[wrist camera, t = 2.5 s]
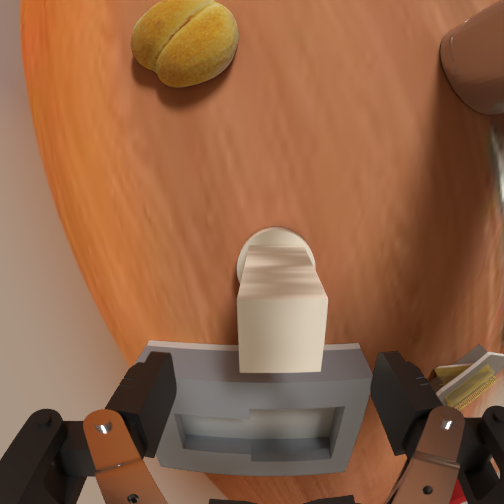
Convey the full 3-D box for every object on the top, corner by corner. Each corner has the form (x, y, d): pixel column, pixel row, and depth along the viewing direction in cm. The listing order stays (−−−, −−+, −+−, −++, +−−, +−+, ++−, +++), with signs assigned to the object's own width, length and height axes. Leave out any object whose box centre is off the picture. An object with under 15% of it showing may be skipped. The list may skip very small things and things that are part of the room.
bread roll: (192, 106, 23) (178, 96, 19) (125, 51, 21) (105, 37, 17) (263, 39, 21) (262, 19, 17) (190, -10, 19) (179, -32, 15)
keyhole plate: (358, 342, 27) (374, 377, 22) (337, 437, 31) (344, 471, 25) (149, 340, 28) (129, 372, 23) (171, 433, 32) (160, 466, 26)
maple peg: (313, 226, 24) (352, 277, 13) (310, 295, 26) (337, 385, 14) (238, 226, 25) (212, 278, 13) (240, 296, 26) (221, 386, 15)
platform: (366, 371, 28) (383, 413, 22) (496, 273, 25) (533, 295, 19) (401, 424, 31) (416, 461, 24) (510, 343, 27) (538, 368, 21)
